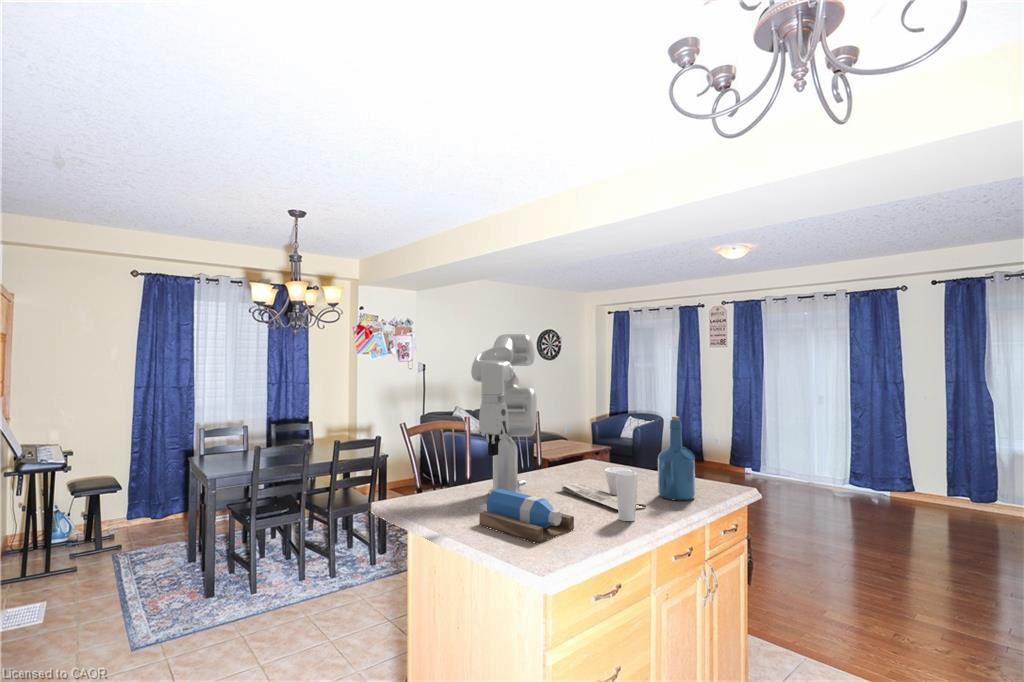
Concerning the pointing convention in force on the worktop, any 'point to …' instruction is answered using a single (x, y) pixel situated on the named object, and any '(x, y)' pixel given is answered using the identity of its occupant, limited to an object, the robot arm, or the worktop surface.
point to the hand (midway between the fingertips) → (493, 454)
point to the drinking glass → (626, 494)
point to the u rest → (525, 527)
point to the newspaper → (594, 495)
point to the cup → (613, 478)
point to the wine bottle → (676, 467)
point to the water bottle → (523, 508)
